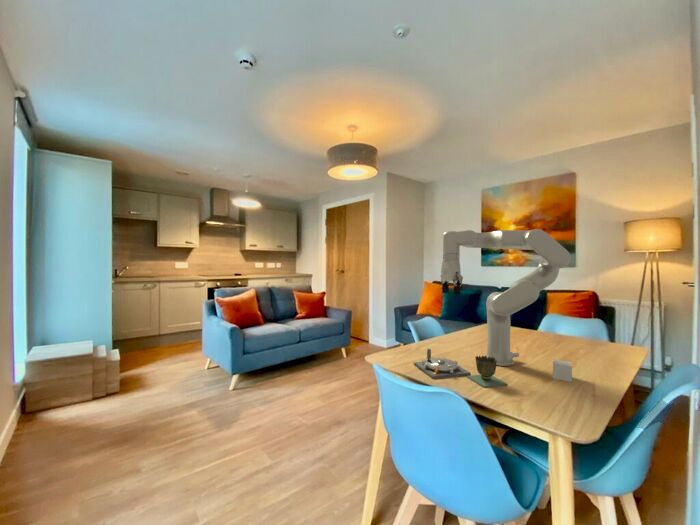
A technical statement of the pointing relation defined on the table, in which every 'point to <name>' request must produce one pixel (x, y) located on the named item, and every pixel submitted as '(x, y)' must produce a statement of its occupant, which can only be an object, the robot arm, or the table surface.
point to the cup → (486, 366)
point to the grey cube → (562, 370)
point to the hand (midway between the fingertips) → (451, 293)
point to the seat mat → (486, 381)
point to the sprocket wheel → (440, 364)
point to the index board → (441, 374)
